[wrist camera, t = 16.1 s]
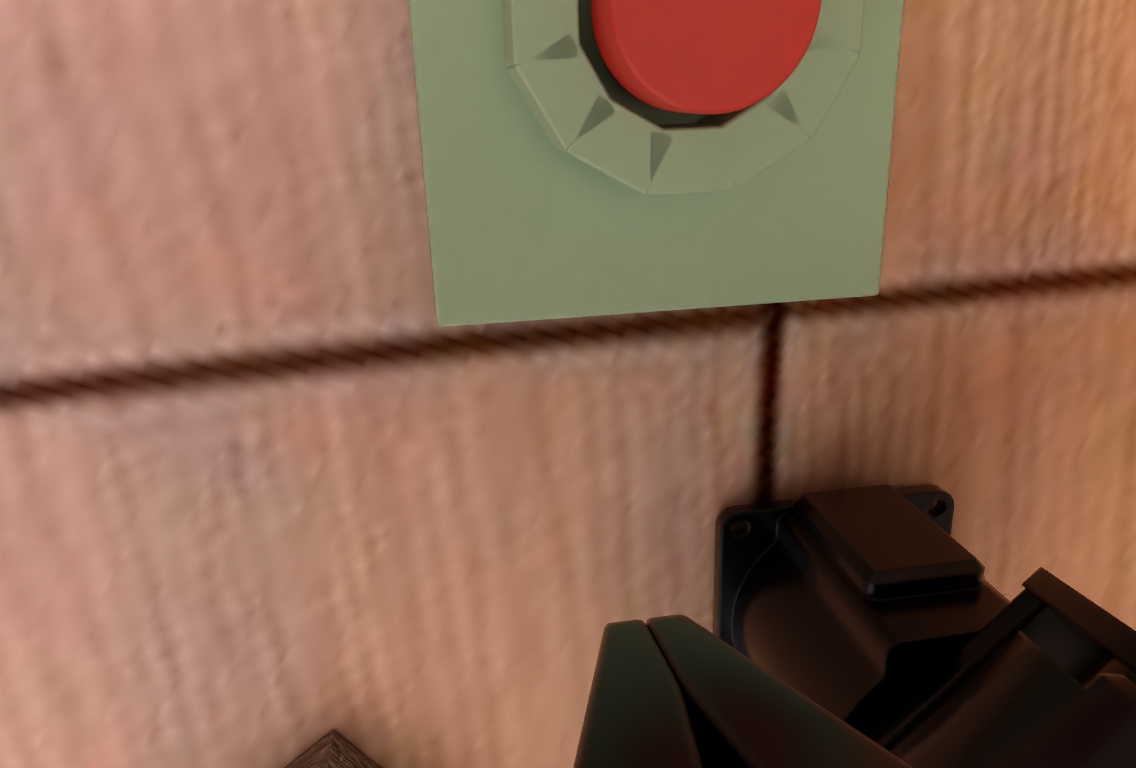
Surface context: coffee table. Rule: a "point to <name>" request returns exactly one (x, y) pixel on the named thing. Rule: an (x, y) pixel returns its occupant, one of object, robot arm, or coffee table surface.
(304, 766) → the picture frame
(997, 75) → the coffee table surface
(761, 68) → the stop button
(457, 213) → the control block
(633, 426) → the coffee table surface
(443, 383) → the coffee table surface
